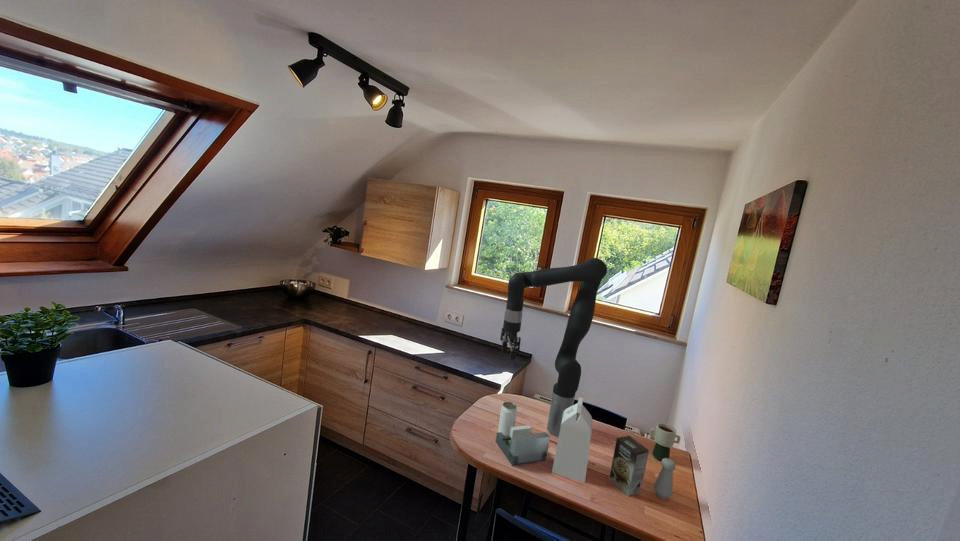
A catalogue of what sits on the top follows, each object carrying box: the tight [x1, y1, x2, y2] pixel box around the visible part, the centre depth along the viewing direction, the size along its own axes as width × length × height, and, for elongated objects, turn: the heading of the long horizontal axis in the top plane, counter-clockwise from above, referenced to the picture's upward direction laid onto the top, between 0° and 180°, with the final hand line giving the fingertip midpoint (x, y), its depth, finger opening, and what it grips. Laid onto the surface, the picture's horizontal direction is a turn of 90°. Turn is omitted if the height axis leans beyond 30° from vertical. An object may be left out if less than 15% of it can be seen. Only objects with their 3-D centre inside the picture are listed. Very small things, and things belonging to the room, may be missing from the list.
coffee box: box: [608, 435, 650, 497], centre depth 134 cm, size 9×6×16 cm
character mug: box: [649, 422, 681, 461], centre depth 154 cm, size 11×7×13 cm, turn 68°
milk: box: [551, 397, 593, 483], centre depth 140 cm, size 12×12×26 cm
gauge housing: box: [495, 431, 551, 467], centre depth 148 cm, size 14×15×10 cm
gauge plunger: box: [502, 424, 533, 445], centre depth 148 cm, size 12×2×8 cm, turn 112°
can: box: [497, 401, 518, 437], centre depth 159 cm, size 6×6×12 cm
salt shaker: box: [653, 458, 676, 500], centre depth 132 cm, size 6×6×13 cm
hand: (508, 355), depth 169 cm, fingers open, 8 cm apart
